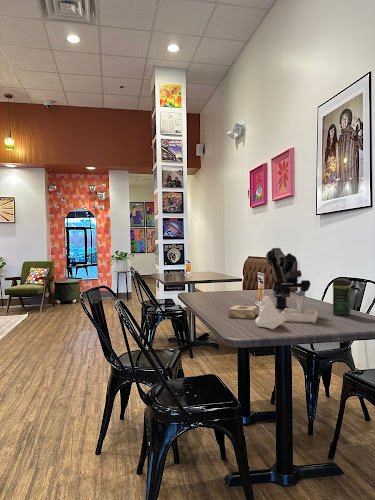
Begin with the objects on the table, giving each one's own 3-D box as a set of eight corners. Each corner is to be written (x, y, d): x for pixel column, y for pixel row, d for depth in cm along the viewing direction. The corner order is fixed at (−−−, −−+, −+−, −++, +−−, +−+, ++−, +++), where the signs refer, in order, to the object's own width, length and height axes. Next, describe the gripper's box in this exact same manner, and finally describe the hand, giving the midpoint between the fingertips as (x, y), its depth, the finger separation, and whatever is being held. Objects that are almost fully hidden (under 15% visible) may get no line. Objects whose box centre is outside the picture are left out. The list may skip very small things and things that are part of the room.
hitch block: (234, 312, 198) (234, 305, 198) (257, 314, 193) (257, 306, 193) (228, 316, 187) (228, 309, 187) (252, 318, 182) (252, 310, 182)
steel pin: (293, 316, 180) (293, 291, 180) (299, 315, 182) (299, 290, 182) (299, 318, 176) (299, 292, 176) (306, 317, 179) (306, 291, 178)
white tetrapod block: (258, 333, 158) (249, 301, 160) (257, 328, 173) (248, 298, 174) (287, 326, 157) (278, 293, 158) (283, 321, 171) (274, 292, 173)
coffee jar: (347, 316, 183) (347, 279, 182) (331, 315, 187) (330, 278, 187) (352, 313, 190) (351, 277, 190) (336, 312, 195) (335, 277, 195)
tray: (285, 315, 190) (285, 308, 190) (317, 316, 184) (317, 309, 184) (281, 320, 175) (280, 313, 175) (315, 323, 169) (315, 315, 169)
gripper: (273, 265, 192) (279, 289, 181) (309, 264, 192) (317, 288, 181) (269, 279, 200) (275, 302, 189) (304, 278, 200) (311, 302, 189)
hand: (294, 298), depth 187 cm, fingers open, 9 cm apart
